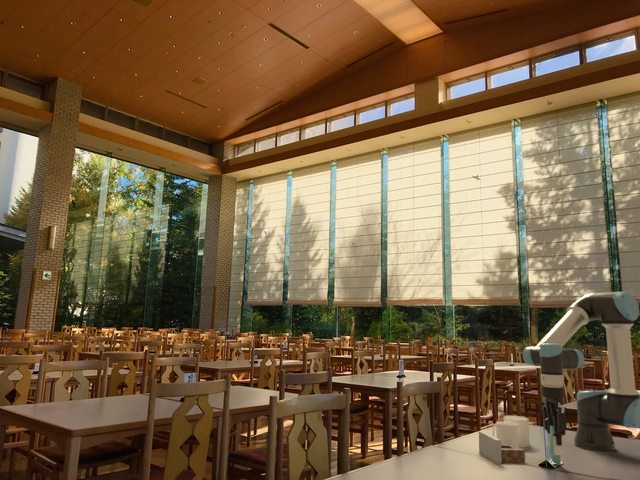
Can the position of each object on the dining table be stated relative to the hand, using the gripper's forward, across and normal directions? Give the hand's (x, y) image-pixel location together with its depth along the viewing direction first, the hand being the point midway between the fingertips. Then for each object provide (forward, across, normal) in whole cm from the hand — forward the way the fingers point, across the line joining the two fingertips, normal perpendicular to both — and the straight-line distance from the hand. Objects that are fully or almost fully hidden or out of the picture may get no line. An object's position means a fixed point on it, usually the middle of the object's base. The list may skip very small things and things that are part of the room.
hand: (555, 453), depth 184 cm
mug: (+4, -35, +2) cm, 35 cm away
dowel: (+4, 0, 0) cm, 4 cm away
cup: (+4, -25, -8) cm, 27 cm away
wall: (+4, -9, -21) cm, 23 cm away
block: (+4, -9, -15) cm, 18 cm away
